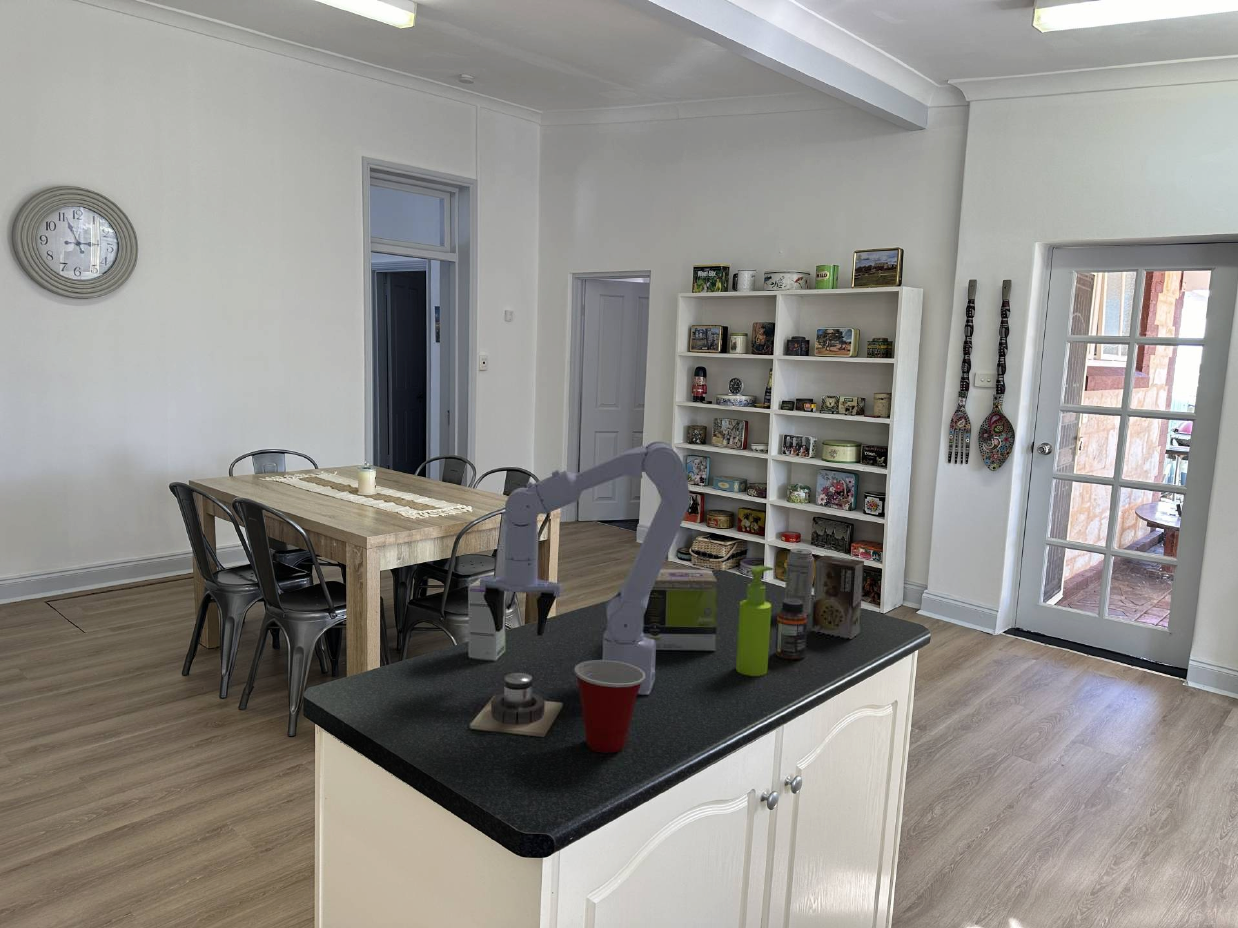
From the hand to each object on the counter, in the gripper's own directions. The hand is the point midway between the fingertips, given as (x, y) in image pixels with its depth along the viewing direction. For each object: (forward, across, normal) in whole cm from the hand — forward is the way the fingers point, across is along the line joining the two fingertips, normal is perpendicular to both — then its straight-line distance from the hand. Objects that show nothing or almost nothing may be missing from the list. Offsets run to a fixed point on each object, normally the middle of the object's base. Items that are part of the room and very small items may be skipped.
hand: (519, 631), depth 156 cm
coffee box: (+10, +58, +46) cm, 75 cm away
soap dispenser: (+10, +41, +18) cm, 46 cm away
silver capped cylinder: (+9, +4, -14) cm, 17 cm away
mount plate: (+9, +4, -14) cm, 17 cm away
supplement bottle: (+10, +48, +28) cm, 56 cm away
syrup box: (+10, -10, +12) cm, 18 cm away
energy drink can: (+10, +50, +57) cm, 76 cm away
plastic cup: (+10, +20, -20) cm, 30 cm away
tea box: (+10, +25, +29) cm, 39 cm away
